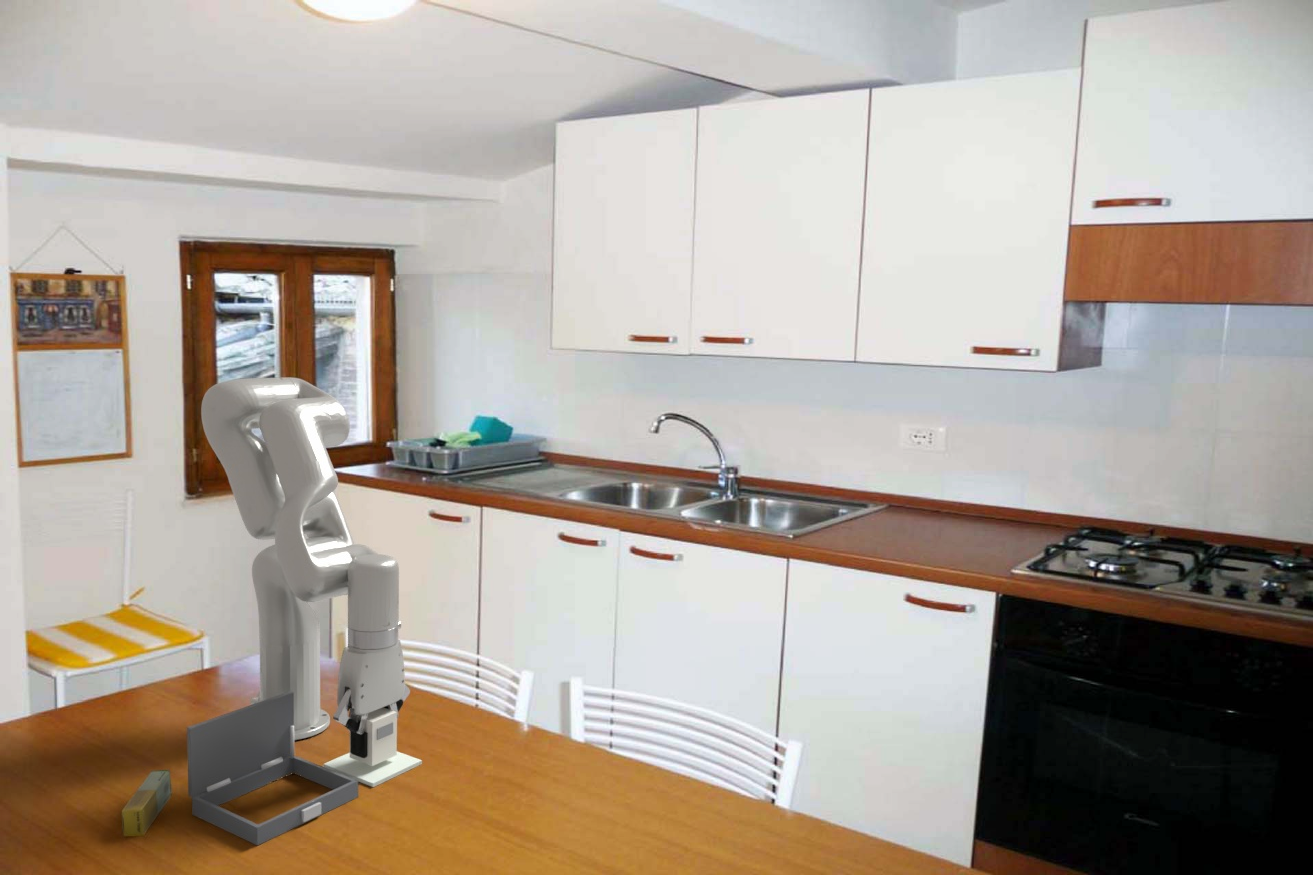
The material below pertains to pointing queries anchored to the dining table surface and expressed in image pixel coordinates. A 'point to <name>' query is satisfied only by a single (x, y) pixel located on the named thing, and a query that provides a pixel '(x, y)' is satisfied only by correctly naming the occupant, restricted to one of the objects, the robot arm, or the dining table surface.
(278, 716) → the case
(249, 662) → the dining table surface
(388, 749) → the block
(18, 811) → the dining table surface
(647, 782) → the dining table surface
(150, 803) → the medication box
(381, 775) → the mat
